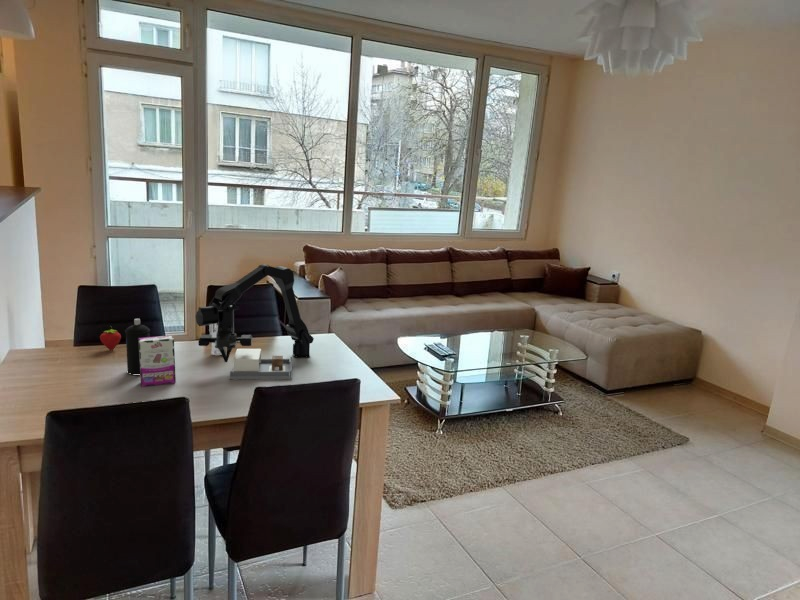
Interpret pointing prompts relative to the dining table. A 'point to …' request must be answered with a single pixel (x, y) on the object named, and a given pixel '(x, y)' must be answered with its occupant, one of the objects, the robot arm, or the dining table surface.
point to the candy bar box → (157, 360)
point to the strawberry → (110, 338)
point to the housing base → (265, 371)
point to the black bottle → (135, 345)
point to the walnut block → (277, 362)
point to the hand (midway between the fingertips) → (226, 362)
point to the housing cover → (247, 360)
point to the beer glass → (213, 331)
